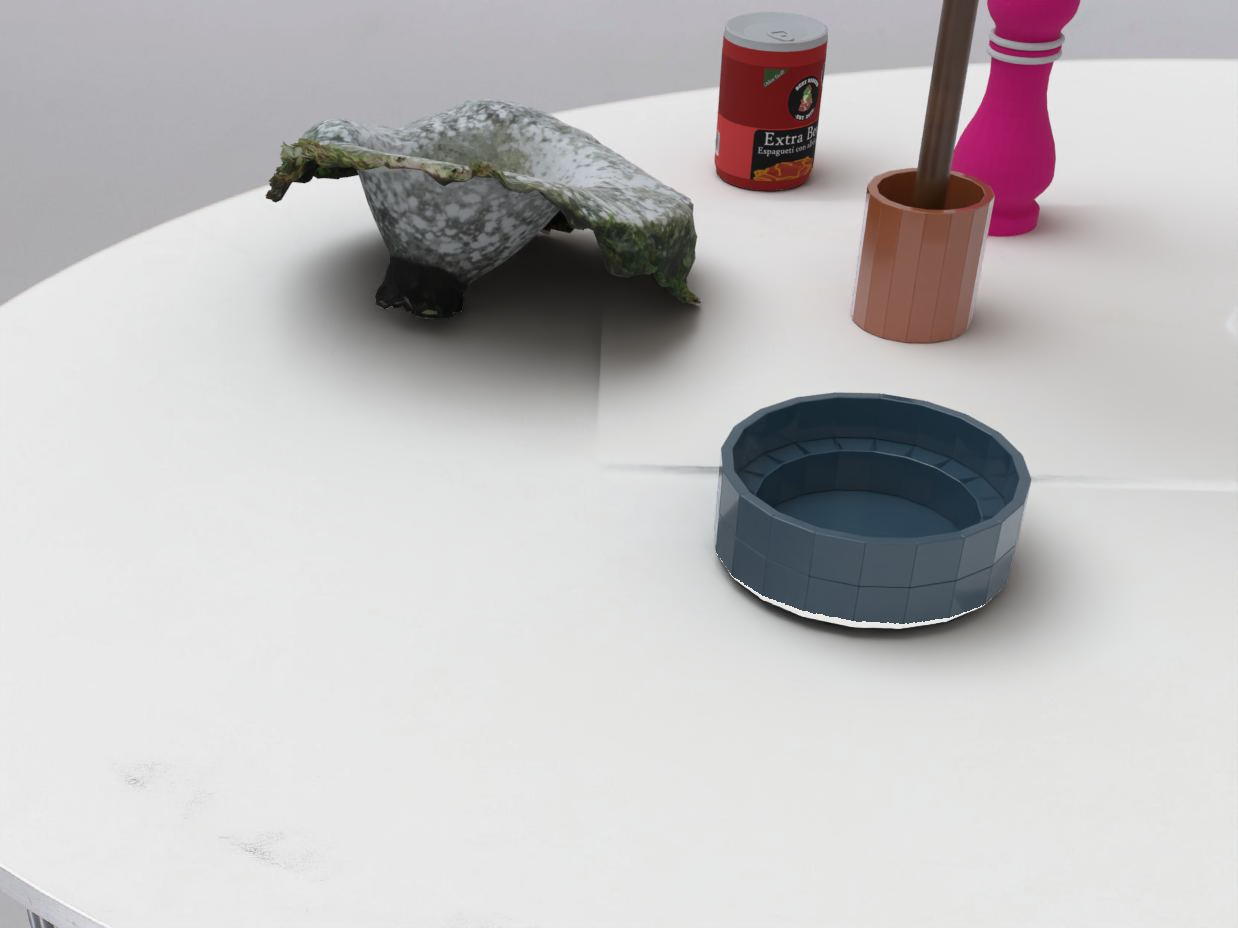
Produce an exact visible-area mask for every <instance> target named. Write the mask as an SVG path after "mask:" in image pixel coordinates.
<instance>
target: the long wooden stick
mask: <svg viewBox="0 0 1238 928" xmlns="http://www.w3.org/2000/svg"><path fill="white" fill-rule="evenodd" d="M979 2H980V0H942V5H941V12H940V18H939V24H938V31H937V37H936V45H935V50H934V57H933V64H932V70H931V76H930V83H929V89H928V90H929V91H928V97H927V103H926V110H925V115H924V123H923V129H922V136H921V142H920V148H919V149H920V150H919V156H918V162H917V167H916V168H917V174H916V181H915V187H914V194H913V200H912V207H914V208H920V209H926V210H944V208H945V202H946V196H947V190H948V184H949V178H950V172H951V166H952V160H953V154H954V149H955V147H956V141H957V136H958V129H959V122H960V118H961V117H960V116H961V112H962V111H961V110H962V104H963V100H964V93H965V87H966V81H967V74H968V68H969V62H970V57H971V50H972V46H973V45H972V44H973V39H974V32H975V27H976V20H977V15H978V8H979Z"/></svg>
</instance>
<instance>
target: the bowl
mask: <svg viewBox="0 0 1238 928" xmlns="http://www.w3.org/2000/svg"><path fill="white" fill-rule="evenodd" d="M1031 484H1032V476H1031V473H1030V471H1029V468H1028V466H1027V463H1026V460H1025V457H1024V455H1023V454H1022V452H1020V451H1019V450H1018V449H1017V448H1016V446H1014V445H1013V444H1012V442H1010V441H1009V439H1007V438H1006V437H1005V436H1004V435H1003V434H1002V433H1000V431H998V430H996V429H994V428H992V427H991V426H989V425H987V424H985V423H983V422H982V421H980V420H978V419H976V418H975V417H973V416H971V415H969V414H966V413H964V412H961V411H958V410H955V409H952V408H950V407H946V406H943V405H941V404H938V403H937V404H936V403H935V402H932V401H928V400H924V399H918V398H913V397H912V398H911V397H905V396H900V395H893V394H887V393H880V392H879V393H877V392H842V391H841V392H840V391H839V392H838V391H837V392H836V391H835V392H828V393H827V392H825V393H819V394H811V395H803V396H796V397H792V398H790V399H787V400H783V401H780V402H777V403H774V404H771V405H768V406H765V407H762V408H759V409H757V410H756V411H755V412H753V413H752V414H750V415H749V416H747V417H745V418H744V419H742V420H741V421H740V422H738V423H737V424H735V425H734V426H733V427H732V429H731V431H730V432H729V434H728V436H727V437H726V439H725V440H724V442H723V444H722V445H721V448H720V454H719V468H718V478H717V491H716V502H715V503H716V504H715V514H714V524H713V535H714V549H715V551H716V552H715V554H716V553H717V554H718V556H719V557H718V556H717V557H718V559H719V558H721V560H722V561H723V563H724V565H725V566H726V567H727V569H728V570H729V572H730V573H731V575H732V576H733V577H734V578H736V579H738V580H740V582H743V583H744V585H746V586H747V585H748V587H750V588H752V589H753V590H754V591H756V592H758V593H759V594H761V595H762V596H765V597H768V598H769V599H773V600H776V601H777V602H781V603H785V605H789V606H792V607H794V608H797V609H799V610H802V611H808V612H810V613H813V614H816V613H817V614H823V615H825V616H829V617H838V618H841V619H846V620H851V621H856V622H862V621H866V622H880V623H887V622H889V623H894V624H896V623H899V624H905V623H907V624H909V623H913V622H915V623H917V622H922V621H923V622H925V621H930V620H935V619H943V618H950V617H952V616H953V617H954V616H955V615H959V614H961V613H963V612H967V611H970V610H972V609H974V608H978V607H980V606H981V605H982V606H983V605H984V604H986V602H988V601H989V600H990V599H991V598H993V597H994V596H995V595H996V594H997V593H998V592H999V591H1000V592H1001V591H1002V590H1004V588H1006V586H1008V581H1009V579H1010V574H1011V571H1012V568H1013V564H1014V560H1015V556H1016V552H1017V547H1018V543H1019V539H1020V534H1021V529H1022V524H1023V520H1024V516H1025V511H1026V507H1027V502H1028V498H1029V493H1030V490H1031V489H1030V488H1031ZM717 554H716V555H717ZM721 560H720V561H721ZM723 563H722V564H723ZM724 565H723V566H724ZM725 566H724V567H725ZM727 569H726V570H727ZM1000 592H999V593H1000ZM999 593H998V594H999ZM998 594H997V595H998ZM997 595H996V596H997ZM996 596H995V597H996ZM995 597H994V598H995ZM994 598H993V599H994ZM991 600H992V599H991ZM991 600H990V601H991ZM990 601H989V602H990ZM989 602H988V603H989ZM986 605H987V604H986Z"/></svg>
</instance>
